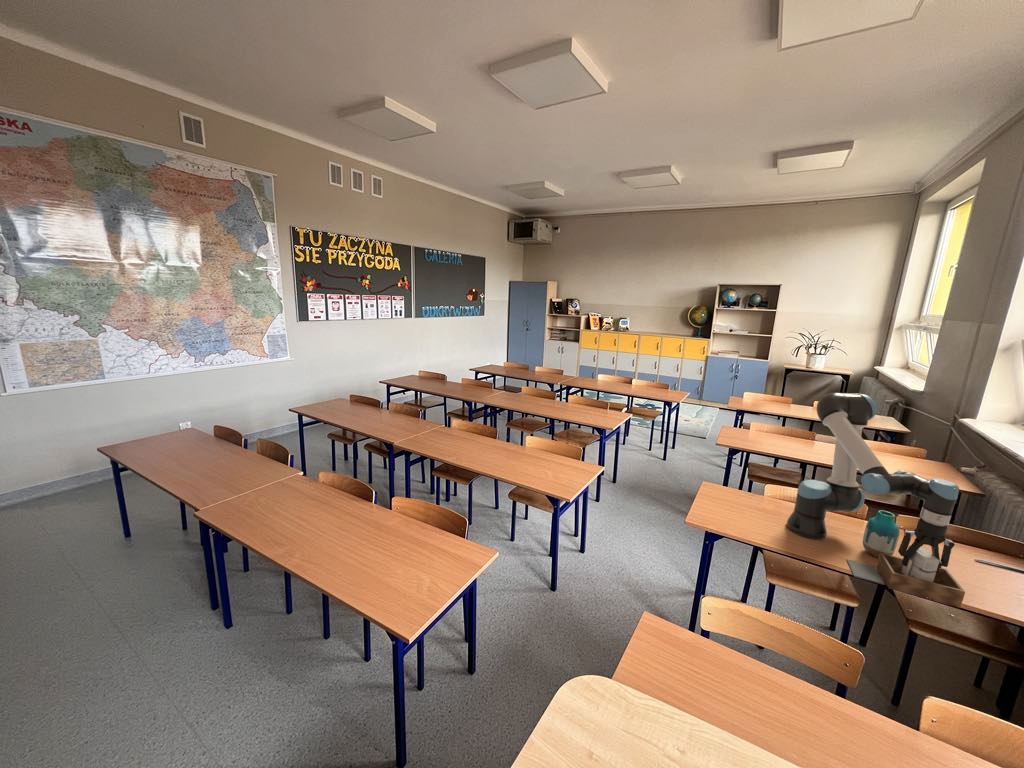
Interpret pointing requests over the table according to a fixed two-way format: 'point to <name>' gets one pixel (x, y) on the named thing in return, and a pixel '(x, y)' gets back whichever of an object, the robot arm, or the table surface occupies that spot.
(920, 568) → the ink box
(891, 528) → the vase
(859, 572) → the zone pad
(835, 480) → the robot arm
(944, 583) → the crate
